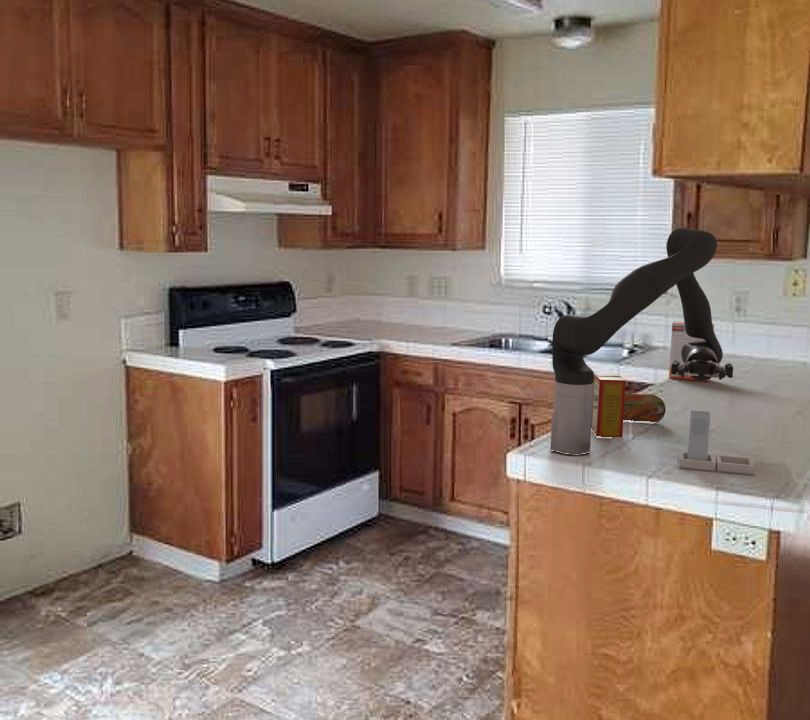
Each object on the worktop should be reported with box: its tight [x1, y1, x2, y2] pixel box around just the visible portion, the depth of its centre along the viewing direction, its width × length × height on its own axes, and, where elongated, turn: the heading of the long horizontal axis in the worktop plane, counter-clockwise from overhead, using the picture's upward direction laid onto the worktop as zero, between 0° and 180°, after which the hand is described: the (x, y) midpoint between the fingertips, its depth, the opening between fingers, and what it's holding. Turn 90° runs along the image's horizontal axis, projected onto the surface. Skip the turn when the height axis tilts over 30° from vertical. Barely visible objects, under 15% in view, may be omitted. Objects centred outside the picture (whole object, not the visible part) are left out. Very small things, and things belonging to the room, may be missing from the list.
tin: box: [623, 392, 667, 423], centre depth 246 cm, size 15×3×8 cm, turn 81°
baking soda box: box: [591, 373, 627, 438], centre depth 229 cm, size 10×6×16 cm
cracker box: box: [668, 321, 715, 382], centre depth 320 cm, size 14×6×21 cm, turn 59°
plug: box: [687, 410, 711, 461], centre depth 197 cm, size 4×5×12 cm
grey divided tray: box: [677, 451, 756, 477], centre depth 197 cm, size 16×11×3 cm
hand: (701, 374), depth 206 cm, fingers open, 8 cm apart
